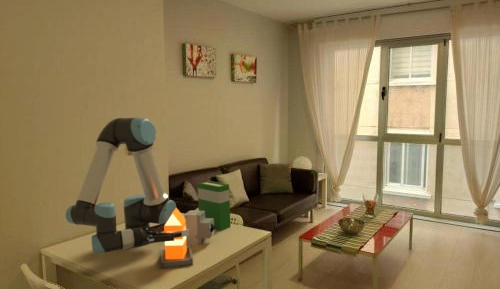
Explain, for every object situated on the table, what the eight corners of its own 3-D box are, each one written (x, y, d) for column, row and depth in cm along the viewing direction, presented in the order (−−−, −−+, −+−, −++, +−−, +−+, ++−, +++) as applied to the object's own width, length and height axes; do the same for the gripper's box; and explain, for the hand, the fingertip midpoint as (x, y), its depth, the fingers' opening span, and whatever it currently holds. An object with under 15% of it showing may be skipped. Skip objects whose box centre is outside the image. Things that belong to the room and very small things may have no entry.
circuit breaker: (213, 246, 175) (212, 215, 173) (185, 244, 178) (183, 214, 176) (217, 240, 182) (216, 211, 181) (190, 239, 185) (189, 210, 184)
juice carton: (165, 259, 155) (163, 213, 153) (169, 251, 164) (167, 207, 162) (183, 258, 155) (181, 212, 153) (187, 250, 164) (185, 207, 162)
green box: (199, 224, 208) (197, 182, 206) (209, 221, 214) (207, 180, 211) (220, 230, 197) (219, 186, 194) (230, 227, 202) (228, 184, 200)
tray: (162, 255, 166) (162, 250, 166) (191, 252, 168) (191, 247, 168) (161, 268, 152) (161, 262, 152) (192, 265, 155) (192, 259, 154)
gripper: (128, 238, 161) (178, 229, 171) (137, 256, 141) (193, 245, 151) (127, 221, 161) (177, 214, 170) (136, 237, 140) (192, 227, 150)
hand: (184, 228), depth 161 cm, fingers closed on juice carton, 10 cm apart
